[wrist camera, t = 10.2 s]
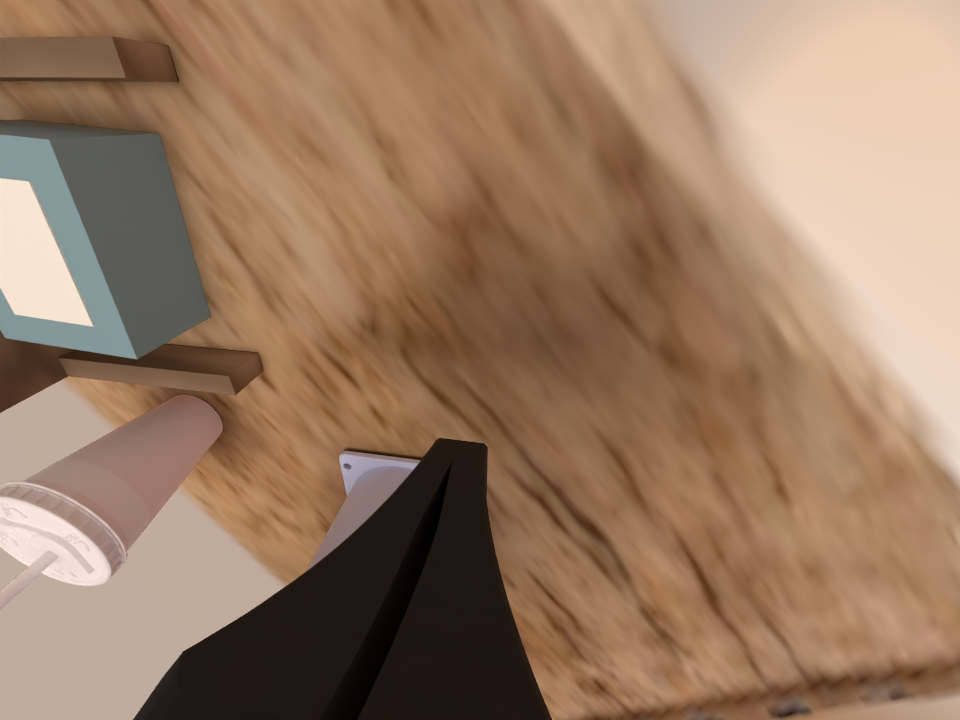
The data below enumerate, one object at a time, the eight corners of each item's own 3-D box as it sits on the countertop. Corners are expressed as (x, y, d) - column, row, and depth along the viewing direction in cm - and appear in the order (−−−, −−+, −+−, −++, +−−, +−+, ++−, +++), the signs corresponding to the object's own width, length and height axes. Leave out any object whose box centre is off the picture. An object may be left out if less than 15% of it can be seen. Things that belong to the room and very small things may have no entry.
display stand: (263, 370, 25) (186, 437, 20) (91, 352, 26) (-22, 410, 21) (167, 45, 17) (-1, 18, 12) (-69, 48, 19) (-307, 24, 14)
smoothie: (222, 468, 30) (1, 702, 18) (138, 415, 29) (-161, 631, 17) (257, 419, 27) (18, 662, 15) (165, 357, 26) (-179, 571, 14)
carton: (213, 314, 24) (135, 360, 19) (101, 298, 24) (2, 338, 20) (163, 133, 19) (45, 139, 15) (27, 119, 20) (-123, 122, 15)
